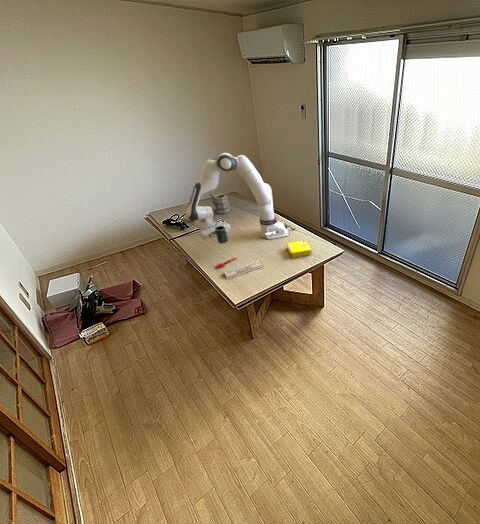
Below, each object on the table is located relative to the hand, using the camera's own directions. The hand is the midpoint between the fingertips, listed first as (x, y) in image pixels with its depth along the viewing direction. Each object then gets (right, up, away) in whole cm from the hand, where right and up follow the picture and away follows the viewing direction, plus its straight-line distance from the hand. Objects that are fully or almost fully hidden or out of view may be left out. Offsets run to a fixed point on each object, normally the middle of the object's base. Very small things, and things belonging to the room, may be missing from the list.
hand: (222, 234), depth 191 cm
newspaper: (+17, -24, -6) cm, 30 cm away
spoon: (+3, -20, 0) cm, 20 cm away
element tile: (+51, -11, +13) cm, 54 cm away
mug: (+1, -5, +3) cm, 6 cm away
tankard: (-31, +31, +74) cm, 85 cm away
